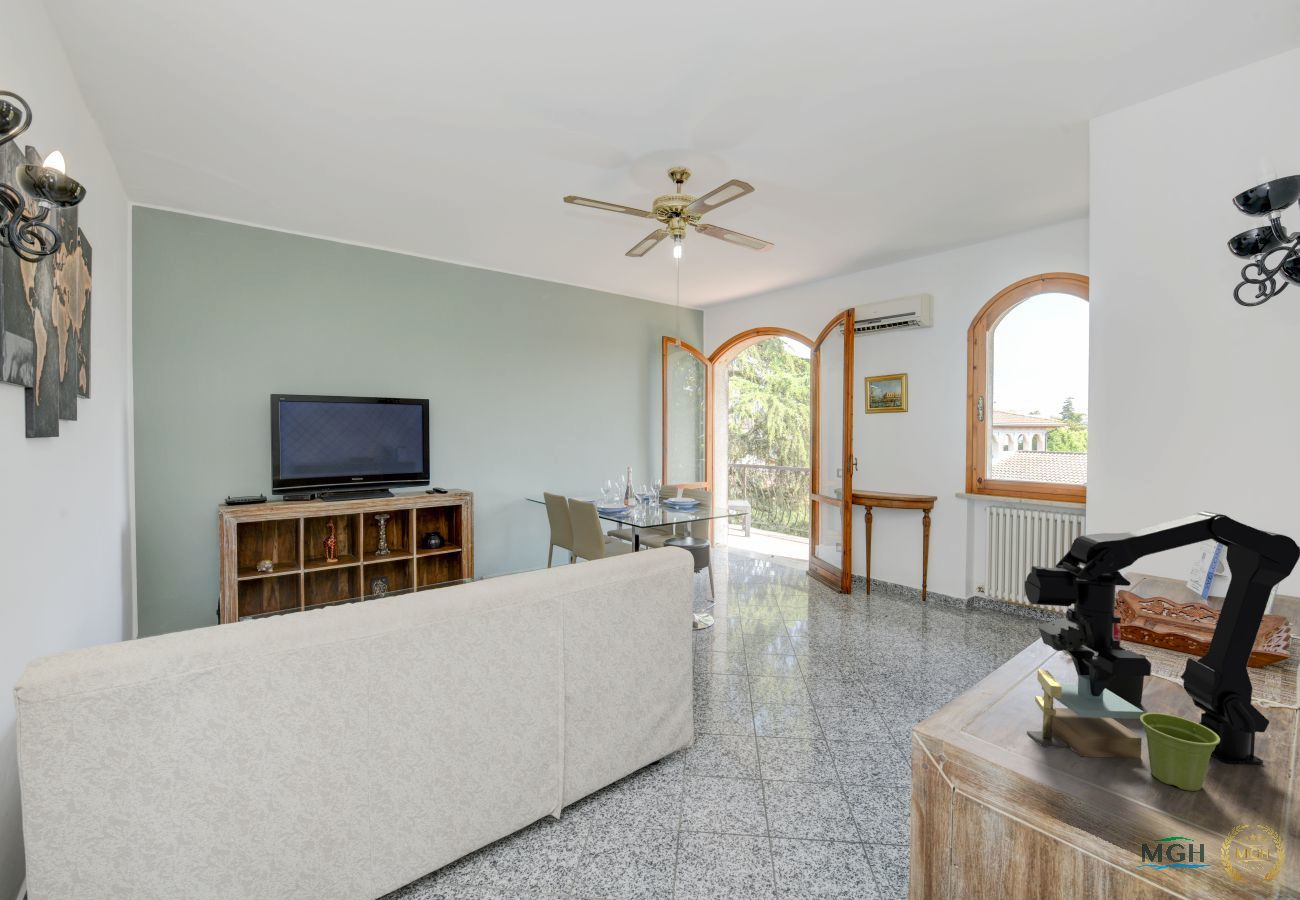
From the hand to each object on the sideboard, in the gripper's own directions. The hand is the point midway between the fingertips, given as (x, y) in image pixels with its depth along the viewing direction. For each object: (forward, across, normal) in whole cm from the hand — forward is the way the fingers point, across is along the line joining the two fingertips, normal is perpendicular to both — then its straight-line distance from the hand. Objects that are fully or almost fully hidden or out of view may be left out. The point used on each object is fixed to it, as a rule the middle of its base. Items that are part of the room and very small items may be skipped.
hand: (1090, 692), depth 103 cm
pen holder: (+9, -17, +17) cm, 26 cm away
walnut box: (+9, 0, -2) cm, 9 cm away
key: (+9, 0, -7) cm, 12 cm away
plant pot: (+9, +11, +6) cm, 15 cm away
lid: (+2, 0, 0) cm, 2 cm away
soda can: (+9, -32, +25) cm, 42 cm away
